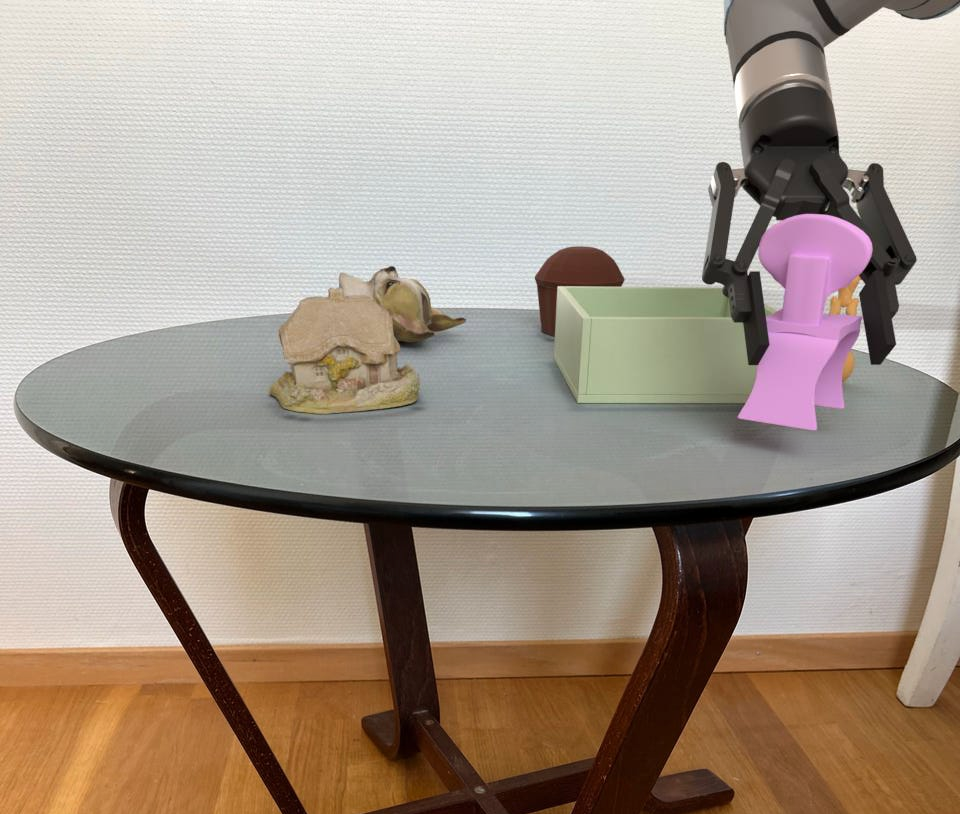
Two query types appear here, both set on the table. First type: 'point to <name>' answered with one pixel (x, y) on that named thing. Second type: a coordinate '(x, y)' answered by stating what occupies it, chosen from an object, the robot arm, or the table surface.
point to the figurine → (851, 309)
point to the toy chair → (806, 319)
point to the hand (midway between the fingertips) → (821, 354)
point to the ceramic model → (342, 357)
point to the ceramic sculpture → (401, 304)
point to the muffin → (572, 277)
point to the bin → (651, 345)
